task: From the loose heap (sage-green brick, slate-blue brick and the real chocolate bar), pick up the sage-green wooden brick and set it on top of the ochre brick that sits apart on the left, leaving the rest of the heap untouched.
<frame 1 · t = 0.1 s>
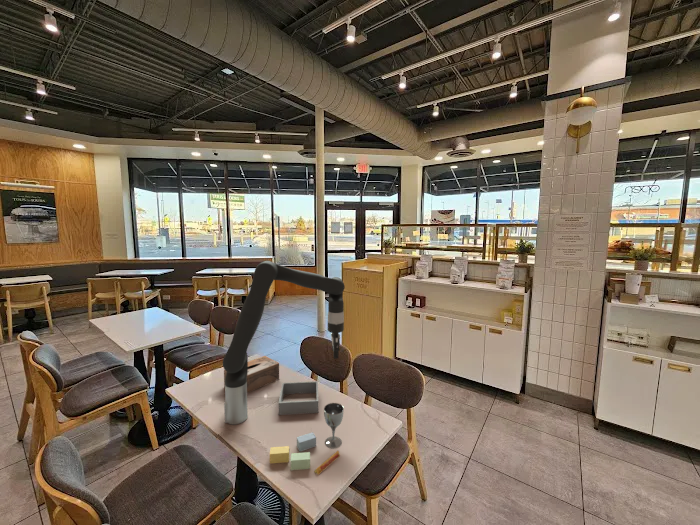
hand: (335, 354, 141), 29 cm above the table, fingers open, 8 cm apart
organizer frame: (299, 402, 152), on the table
tissue box cover: (252, 383, 171), on the table
wine glass: (333, 442, 125), on the table
sage brick: (300, 466, 112), on the table
slate brick: (306, 446, 122), on the table
ochre brick: (279, 459, 115), on the table
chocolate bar: (327, 465, 113), on the table
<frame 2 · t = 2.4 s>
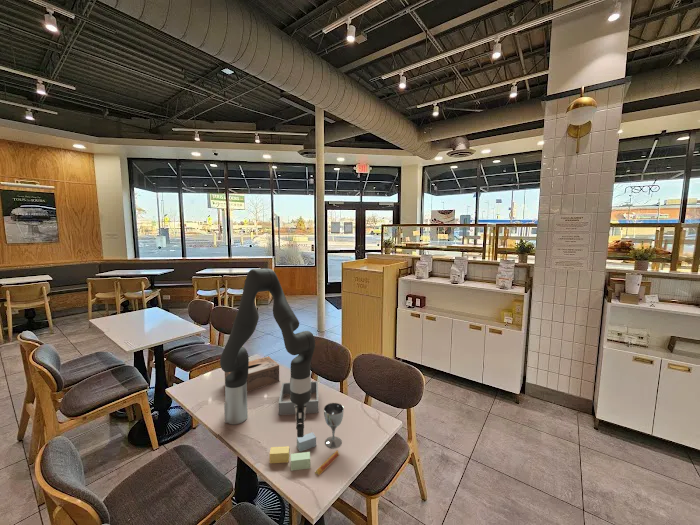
hand: (300, 428, 110), 15 cm above the table, fingers open, 8 cm apart
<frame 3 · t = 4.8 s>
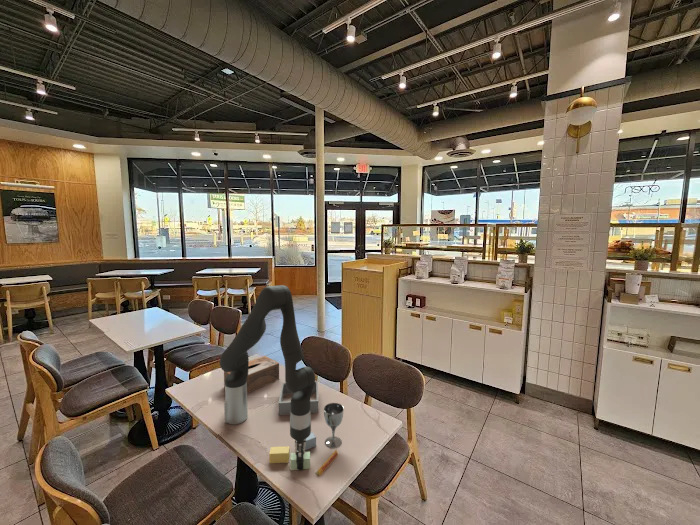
hand: (300, 464, 112), 0 cm above the table, fingers closed on sage brick, 3 cm apart
sage brick: (300, 465, 112), on the table, touching gripper
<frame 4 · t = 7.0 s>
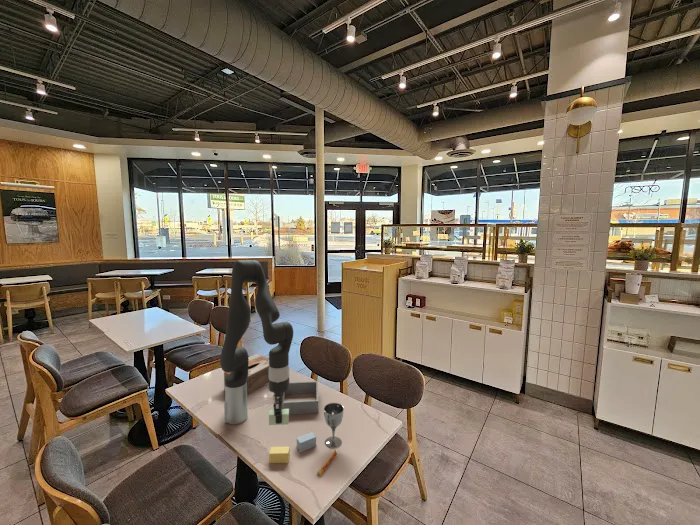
hand: (279, 419, 113), 16 cm above the table, fingers closed on sage brick, 3 cm apart
sage brick: (279, 421, 113), point 15 cm above the table, touching gripper
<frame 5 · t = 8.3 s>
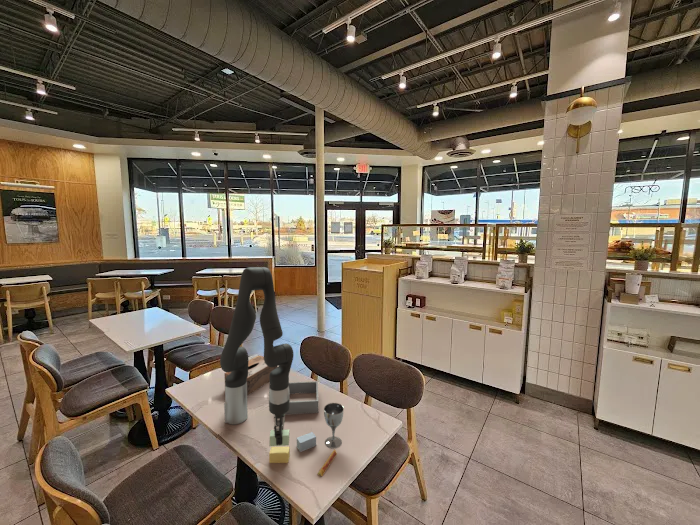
hand: (279, 440, 114), 8 cm above the table, fingers closed on sage brick, 3 cm apart
sage brick: (279, 442, 114), point 7 cm above the table, touching gripper
when the fingers open (6 cm above the table, at t = 9.5 s): sage brick stays where it is, resting on ochre brick.
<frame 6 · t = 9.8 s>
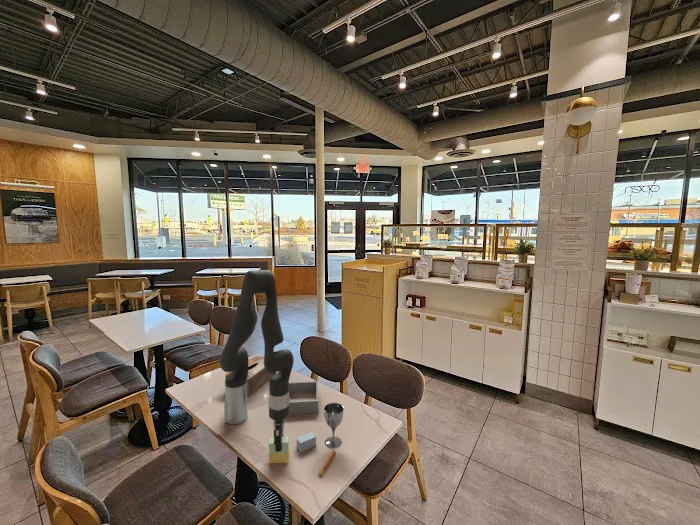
hand: (279, 444, 114), 6 cm above the table, fingers open, 6 cm apart
sage brick: (279, 449, 115), point 4 cm above the table, touching ochre brick
ochre brick: (279, 459, 115), on the table, touching sage brick
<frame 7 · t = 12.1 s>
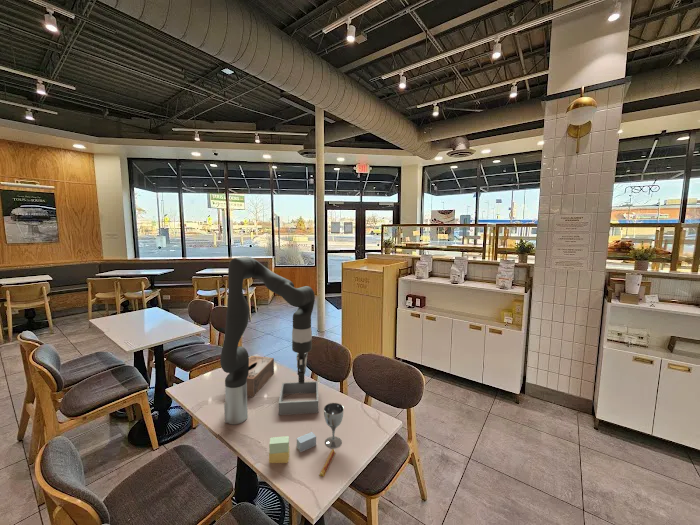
hand: (302, 377, 119), 29 cm above the table, fingers open, 8 cm apart
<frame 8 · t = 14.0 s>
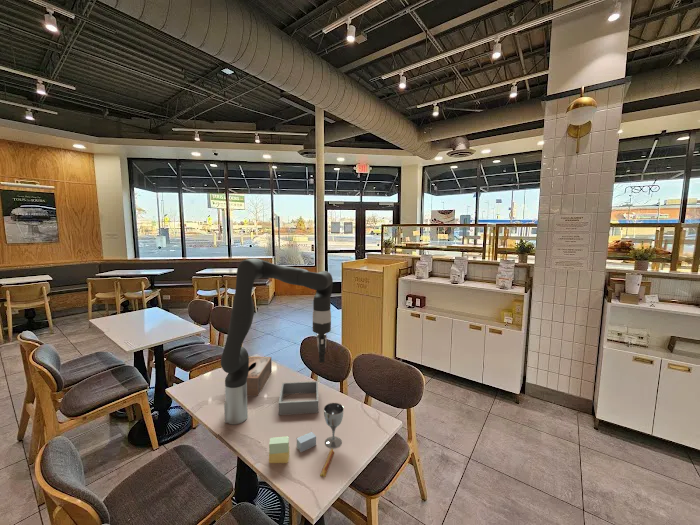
hand: (321, 357, 126), 34 cm above the table, fingers open, 8 cm apart
at the end: sage brick 0.0 cm off-centre on the ochre brick, point 4.0 cm above the ochre brick's base; slate brick moved 0.2 cm from its start; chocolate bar moved 0.7 cm from its start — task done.
